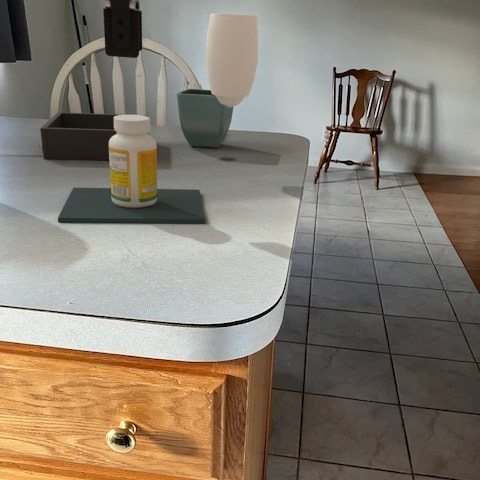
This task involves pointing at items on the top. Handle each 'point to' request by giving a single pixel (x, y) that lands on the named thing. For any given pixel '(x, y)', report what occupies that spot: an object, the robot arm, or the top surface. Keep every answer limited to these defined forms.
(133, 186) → the supplement bottle
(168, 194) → the mat
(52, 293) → the top surface
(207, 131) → the flower pot
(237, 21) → the beige tapered shape
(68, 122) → the black box
